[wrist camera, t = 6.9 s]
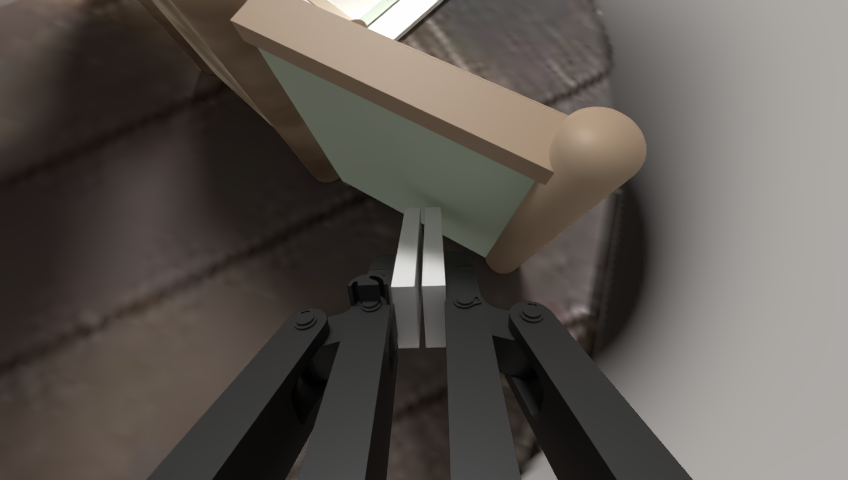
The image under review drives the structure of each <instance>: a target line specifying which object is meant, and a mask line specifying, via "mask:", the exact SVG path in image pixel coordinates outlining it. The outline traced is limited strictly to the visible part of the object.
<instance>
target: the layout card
mask: <svg viewBox="0 0 848 480" xmlns="http://www.w3.org/2000/svg"><path fill="white" fill-rule="evenodd" d="M304 1H306V2H308V3H311V4H313V5H315V6H317V7H320V8H322V9H324V10H327V11H329V12H331V13H334V14H336V15H338V16H340V17H343V18H345V19H347V20H350V21H352V22H354V23H357V24H359V25H361V26H363V27H366V28H368V29H370V30H373V31H375V32H377V33H380V34H382V35H384V36H386V37H389V38H391V39H393V40H396V41H398V40H399V39H400V38H401V37H402V36H404V35H405V34H406V33H407V32H408V31H409V30H410V29H412V28H413V27H414V26H415V25H416V24H417V23H418V22H420V21H421V20H422V19H423V18H424V17H425V16H426V15H428V14H429V13H430V12H431V11H432V10H433V9H434V8H436V7H437V6H438V5H439V4H440V3H441V2H442V1H444V0H304Z"/></svg>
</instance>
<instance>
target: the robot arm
mask: <svg viewBox="0 0 848 480" xmlns="http://www.w3.org/2000/svg"><path fill="white" fill-rule="evenodd" d="M347 288H348V293H349V298H350V303H351V308H350V310H348V311H346V312H344V313H341V314H338V315H334V316H330V317H327V315H326V313H325V312H324V311H323V310H320V309H305V310H301V311H299V312H297V313H295V314H293V315H292V316H291V317H290V318H289V319H288V320H287V321H286V322H285V323H284V324H283V325H282V326H281V327H280V329H279V330H278V331H277V332H276V333H275V334H274V335H273V337H272V338H271V339H270V340H269V341H268V342H267V343H266V344H265V346H264V347H263V348H262V349H261V350H260V351H259V352H258V354H257V355H256V356H255V357H254V358H253V359H252V360H251V361H250V363H249V364H248V365H247V366H246V367H245V368H244V369H243V371H242V372H241V373H240V374H239V375H238V376H237V377H236V378H235V380H234V381H233V382H232V383H231V384H230V385H229V386H228V388H227V389H226V390H225V391H224V392H223V393H222V394H221V396H220V397H219V398H218V399H217V400H216V401H215V402H214V403H213V405H212V406H211V407H210V408H209V409H208V410H207V411H206V413H205V414H204V415H203V416H202V417H201V418H200V419H199V420H198V422H197V423H196V424H195V425H194V426H193V427H192V428H191V430H190V431H189V432H188V433H187V434H186V435H185V436H184V437H183V439H182V440H181V441H180V442H179V443H178V444H177V445H176V447H175V448H174V449H173V450H172V451H171V452H170V453H169V454H168V456H167V457H166V458H165V459H164V460H163V461H162V462H161V464H160V465H159V466H158V467H157V468H156V469H155V470H154V472H153V473H152V474H151V475H150V476H149V477H148V478H147V479H146V480H285V479H286V477H287V475H288V473H289V472H290V470H291V468H292V466H293V464H294V463H295V461H296V459H297V457H298V455H299V454H300V452H301V450H302V448H303V446H304V444H305V443H306V441H307V439H308V437H309V435H310V434H311V432H312V435H311V438H310V441H309V444H308V447H307V451H306V454H305V457H304V460H303V464H302V467H301V470H300V473H299V477H298V480H386V478H387V467H388V456H389V446H390V435H391V425H392V414H393V404H394V393H395V382H396V372H397V361H398V359H397V352H396V348H397V341H398V348H419V344H420V320H421V296H423V310H424V325H425V340H426V348H432V347H446V361H447V392H448V423H449V454H450V480H521V477H520V472H519V467H518V462H517V457H516V452H515V447H514V442H513V437H512V433H511V428H510V423H509V418H508V413H507V408H506V403H505V398H504V393H503V388H502V383H501V378H500V373H499V372H501V373H504V374H505V377H506V379H507V381H508V383H509V385H510V387H511V389H512V391H513V393H514V395H515V397H516V399H517V401H518V403H519V405H520V407H521V409H522V411H523V413H524V415H525V417H526V419H527V421H528V422H529V424H530V426H531V428H532V430H533V432H534V434H535V436H536V438H537V440H538V442H539V444H540V446H541V448H542V450H543V452H544V454H545V456H546V458H547V460H548V462H549V463H550V465H551V467H552V469H553V471H554V473H555V475H556V477H557V479H558V480H692V478H691V477H690V476H689V475H688V473H687V472H686V471H685V470H684V469H683V467H681V465H680V464H679V463H678V462H677V460H676V459H675V458H674V457H673V456H672V455H671V453H670V452H669V451H668V450H667V449H666V447H665V446H664V445H663V444H662V442H661V441H660V440H659V439H658V438H657V437H656V435H655V434H654V433H653V432H652V431H651V429H650V428H649V427H648V426H647V425H646V423H645V422H644V421H643V420H642V419H641V418H640V416H639V415H638V414H637V413H636V412H635V410H634V409H633V408H632V407H631V406H630V404H629V403H628V402H627V401H626V400H625V399H624V397H623V396H622V395H621V394H620V393H619V391H618V390H617V389H616V388H615V387H614V385H613V384H612V383H611V382H610V381H609V380H608V378H607V377H606V376H605V375H604V374H603V372H602V371H601V370H600V369H599V368H598V366H597V365H596V364H595V363H594V362H593V360H592V359H591V358H590V357H589V356H588V355H587V353H586V352H585V351H584V350H583V349H582V347H581V346H580V345H579V344H578V343H577V341H576V340H575V339H574V338H573V337H572V336H571V334H570V333H569V332H568V331H567V330H566V328H565V327H564V326H563V325H562V324H561V322H560V321H559V320H558V319H557V318H556V317H555V315H554V314H553V313H552V312H551V311H550V310H549V309H548V308H547V307H545V306H544V305H541V304H539V303H536V302H531V301H524V302H519V303H516V304H514V305H513V306H512V307H511V308H510V310H504V309H500V308H496V307H493V306H491V305H489V304H488V303H486V302H485V301H484V299H483V297H482V296H481V295H480V290H479V286H478V281H477V276H476V273H475V267H474V262H473V258H472V257H471V256H470V255H469V254H468V253H467V252H443V239H442V223H441V208H440V207H425V224H424V248H423V242H422V226H421V210H420V208H405V212H404V218H403V223H402V229H401V234H400V240H399V245H398V251H397V255H382V256H377V257H376V258H375V259H374V260H373V261H372V262H371V264H370V267H369V271H368V274H364V275H361V276H358V277H356V278H354V279H353V280H351V281H350V282H349V284H348V285H347ZM312 430H313V431H312Z"/></svg>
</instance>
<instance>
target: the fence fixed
mask: <svg viewBox="0 0 848 480" xmlns="http://www.w3.org/2000/svg"><path fill="white" fill-rule="evenodd" d="M139 1H140V2H141V3H142V4H143V5H144V6H145V7H146V9H147V10H148V11H149V12H150V13H151V14H152V15H153V16H154V17H155V19H156V20H157V21H158V22H159V23H160V24H161V25H162V26H163V27H164V28H165V30H166V31H167V32H168V33H169V34H170V35H171V36H172V37H173V38H174V40H175V41H176V42H177V43H178V44H179V45H180V46H181V47H182V48H183V50H184V51H185V52H186V53H187V54H188V55H189V56H190V57H191V58H192V59H193V61H194V62H195V63H196V64H197V65H198V66H199V67H200V68H201V69H202V71H203V72H204V73H206V74H208V75H217V76H218V77H219V78H220V79H221V80H222V81H223V82H224V83H225V84H227V85H228V86H229V87H230V88H231V89H232V90H233V91H234V92H235V93H236V94H238V95H239V96H240V97H241V98H242V99H243V100H244V101H245V102H246V103H247V104H248V105H250V106H251V107H252V108H253V109H254V110H255V111H256V112H257V113H258V114H259V115H261V116H262V117H263V118H264V119H265V120H266V121H267V122H268V123H269V124H270V125H271V126H273V127H274V128H275V130H276V131H277V132H278V133H279V135H280V136H281V137H282V138H283V140H284V141H285V142H286V143H287V145H288V146H289V147H290V148H291V150H292V151H293V152H294V153H295V154H296V156H297V157H298V158H299V159H300V161H301V162H302V163H303V164H304V166H305V167H306V168H307V169H308V171H309V172H310V173H311V174H312V176H313V177H314V178H315V179H316V180H318V181H320V182H324V183H330V182H334V181H336V180H338V179H339V178H340V176H339V175H338V173H337V172H336V170H335V169H334V167H333V165H332V164H331V162H330V161H329V159H328V158H327V156H326V154H325V153H324V151H323V150H322V148H321V147H320V145H319V143H318V142H317V140H316V139H315V137H314V136H313V134H312V133H311V131H310V129H309V128H308V126H307V125H306V123H305V122H304V120H303V118H302V117H301V115H300V114H299V112H298V111H297V109H296V107H295V106H294V104H293V103H292V101H291V100H290V98H289V96H288V95H287V93H286V92H285V90H284V89H283V87H282V85H281V84H280V82H279V81H278V79H277V78H276V76H275V74H274V73H273V71H272V70H271V68H270V67H269V65H268V63H267V62H266V60H265V59H264V57H263V56H262V54H261V52H260V51H259V49H258V48H257V47H256V46H253V45H251V44H249V43H247V42H245V41H244V40H243V39H242V37H241V36H240V34H239V33H238V31H237V30H236V28H235V27H234V25H233V24H232V22H231V21H230V20H231V18H232V17H233V16H234V15H235V14H236V13H237V12H238V11H239V10H240V8H241V7H242V6H243V5H244V4H245V3H246V2H247V1H248V0H139Z"/></svg>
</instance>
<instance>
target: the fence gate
mask: <svg viewBox="0 0 848 480" xmlns="http://www.w3.org/2000/svg"><path fill="white" fill-rule="evenodd" d="M230 21H231V22H232V24H233V25H234V27H235V28H236V30H237V31H238V33H239V34H240V36H241V37H242V39H243V40H244V41H245V42H247V43H249V44H251V45H253V46H256V47H257V48H258V49H259V51H260V52H261V54H262V56H263V57H264V59H265V60H266V62H267V63H268V65H269V67H270V68H271V70H272V71H273V73H274V74H275V76H276V78H277V79H278V81H279V82H280V84H281V85H282V87H283V89H284V90H285V92H286V93H287V95H288V96H289V98H290V100H291V101H292V103H293V104H294V106H295V107H296V109H297V111H298V112H299V114H300V115H301V117H302V118H303V120H304V122H305V123H306V125H307V126H308V128H309V129H310V131H311V133H312V134H313V136H314V137H315V139H316V140H317V142H318V143H319V145H320V147H321V148H322V150H323V151H324V153H325V154H326V156H327V158H328V159H329V161H330V162H331V164H332V165H333V167H334V169H335V170H336V172H337V173H338V175H339V176H340V178H341V180H342V181H343V182H345V183H347V184H349V185H351V186H353V187H355V188H357V189H358V190H360V191H362V192H364V193H366V194H368V195H370V196H371V197H373V198H375V199H377V200H379V201H381V202H383V203H384V204H386V205H388V206H390V207H392V208H394V209H396V210H397V211H399V212H401V213H403V214H404V212H405V208H420V210H421V223H422V224H423V225H424V224H425V207H440V208H441V223H442V235H444V236H446V237H448V238H450V239H451V240H453V241H455V242H457V243H459V244H461V245H463V246H464V247H466V248H468V249H470V250H472V251H474V252H476V253H477V254H479V255H481V256H483V257H485V259H486V262H487V264H488V266H489V267H490V268H491V269H492V270H493V271H495V272H497V273H500V274H507V273H510V272H512V271H514V270H515V269H516V268H518V267H519V266H520V265H521V264H523V263H524V262H525V261H527V260H528V259H529V258H530V257H532V256H533V255H534V254H535V253H537V252H538V251H539V250H540V249H542V248H543V247H544V246H545V245H547V244H548V243H549V242H550V241H552V240H553V239H554V238H555V237H557V236H558V235H559V234H561V233H562V232H563V231H564V230H566V229H567V228H568V227H569V226H571V225H572V224H573V223H574V222H576V221H577V220H578V219H579V218H581V217H582V216H583V215H584V214H586V213H587V212H588V211H589V210H591V209H592V208H593V207H595V206H596V205H597V204H598V203H600V202H601V201H602V200H603V199H605V198H606V197H607V196H608V195H610V194H611V193H612V192H613V191H615V190H616V189H617V188H618V187H620V186H621V185H622V184H623V183H625V182H626V181H627V180H629V179H630V178H631V177H632V176H634V175H635V174H636V173H637V172H638V171H639V169H640V168H641V167H642V165H643V163H644V161H645V157H646V142H645V138H644V136H643V134H642V132H641V130H640V129H639V128H638V126H637V125H636V124H635V123H634V122H633V121H632V120H631V119H630V118H628V117H627V116H625V115H624V114H622V113H620V112H618V111H616V110H613V109H609V108H604V107H588V108H584V109H580V110H578V111H576V112H574V113H572V114H571V115H569V116H568V115H566V114H564V113H561V112H559V111H557V110H554V109H552V108H550V107H548V106H545V105H543V104H541V103H538V102H536V101H534V100H531V99H529V98H527V97H525V96H522V95H520V94H518V93H515V92H513V91H511V90H508V89H506V88H504V87H502V86H499V85H497V84H495V83H492V82H490V81H488V80H485V79H483V78H481V77H479V76H476V75H474V74H472V73H469V72H467V71H465V70H462V69H460V68H458V67H456V66H453V65H451V64H449V63H446V62H444V61H442V60H439V59H437V58H435V57H432V56H430V55H428V54H426V53H423V52H421V51H419V50H416V49H414V48H412V47H409V46H407V45H405V44H403V43H400V42H398V41H396V40H393V39H391V38H389V37H386V36H384V35H382V34H380V33H377V32H375V31H373V30H370V29H368V28H366V27H363V26H361V25H359V24H357V23H354V22H352V21H350V20H347V19H345V18H343V17H340V16H338V15H336V14H334V13H331V12H329V11H327V10H324V9H322V8H320V7H317V6H315V5H313V4H311V3H308V2H306V1H304V0H248V1H247V2H246V3H245V4H244V5H243V6H242V7H241V8H240V10H239V11H238V12H237V13H236V14H235V15H234V16H233V17H232V18H231V20H230Z"/></svg>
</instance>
